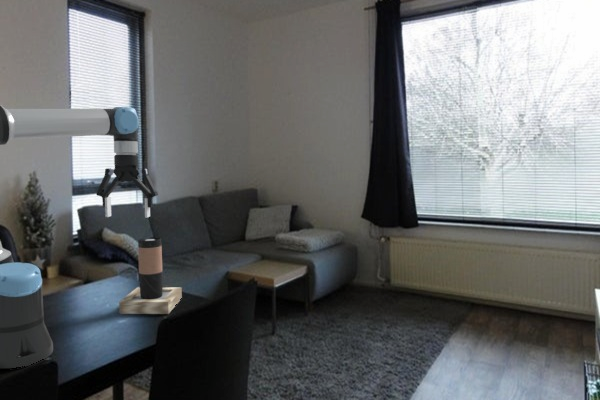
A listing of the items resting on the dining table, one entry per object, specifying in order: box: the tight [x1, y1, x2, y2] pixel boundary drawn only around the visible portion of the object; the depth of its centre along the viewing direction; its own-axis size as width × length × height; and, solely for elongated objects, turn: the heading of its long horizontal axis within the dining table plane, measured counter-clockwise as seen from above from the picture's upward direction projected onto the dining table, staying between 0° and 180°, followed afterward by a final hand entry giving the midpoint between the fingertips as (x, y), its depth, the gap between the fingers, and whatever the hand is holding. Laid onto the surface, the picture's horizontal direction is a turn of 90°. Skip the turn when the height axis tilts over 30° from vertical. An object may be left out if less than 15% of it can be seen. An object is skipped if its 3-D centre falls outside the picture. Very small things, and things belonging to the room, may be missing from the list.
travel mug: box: [137, 236, 164, 299], centre depth 151 cm, size 8×8×20 cm
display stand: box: [118, 286, 183, 315], centre depth 152 cm, size 16×16×4 cm
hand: (128, 216), depth 151 cm, fingers open, 13 cm apart
